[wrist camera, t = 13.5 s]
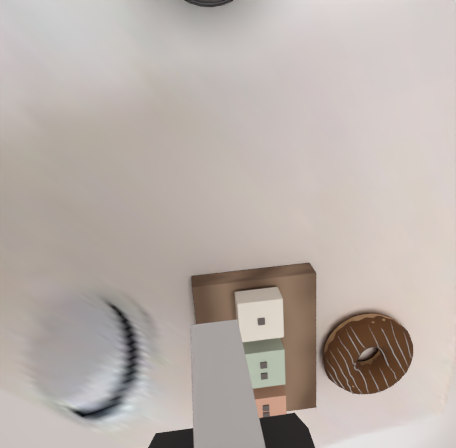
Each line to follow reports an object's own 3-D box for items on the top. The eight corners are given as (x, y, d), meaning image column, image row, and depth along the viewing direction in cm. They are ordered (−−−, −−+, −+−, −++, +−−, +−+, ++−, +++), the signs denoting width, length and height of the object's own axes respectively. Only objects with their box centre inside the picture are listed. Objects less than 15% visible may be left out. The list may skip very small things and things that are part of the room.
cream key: (237, 328, 44) (240, 343, 42) (234, 291, 43) (237, 305, 40) (279, 323, 45) (284, 338, 42) (277, 286, 43) (283, 299, 41)
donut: (411, 306, 50) (430, 325, 46) (393, 379, 53) (409, 402, 49) (325, 306, 48) (336, 325, 45) (312, 380, 52) (322, 404, 48)
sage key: (240, 374, 46) (244, 391, 44) (238, 340, 45) (241, 356, 42) (280, 369, 47) (285, 385, 44) (279, 335, 45) (284, 350, 43)
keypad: (206, 406, 51) (208, 434, 47) (191, 276, 45) (192, 296, 41) (310, 392, 52) (320, 419, 48) (309, 262, 46) (321, 281, 42)
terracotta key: (244, 416, 49) (247, 434, 46) (241, 385, 47) (244, 402, 45) (282, 410, 49) (287, 428, 46) (281, 380, 47) (286, 396, 45)
